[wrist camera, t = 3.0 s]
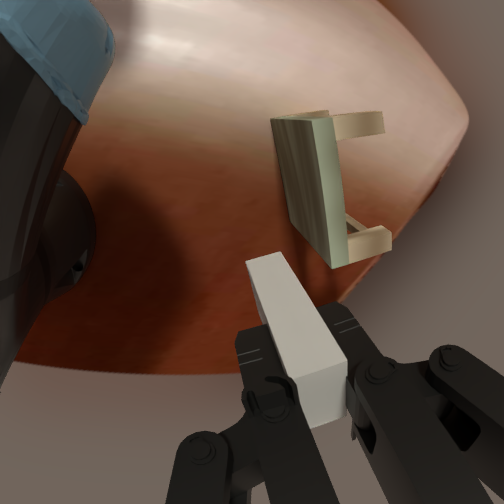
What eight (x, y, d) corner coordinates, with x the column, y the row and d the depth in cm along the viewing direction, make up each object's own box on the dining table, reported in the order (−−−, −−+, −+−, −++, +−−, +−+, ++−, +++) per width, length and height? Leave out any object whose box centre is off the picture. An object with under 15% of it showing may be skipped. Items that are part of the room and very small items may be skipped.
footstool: (290, 221, 33) (331, 269, 23) (270, 118, 28) (311, 120, 18) (336, 209, 33) (391, 250, 23) (321, 110, 28) (382, 111, 19)
